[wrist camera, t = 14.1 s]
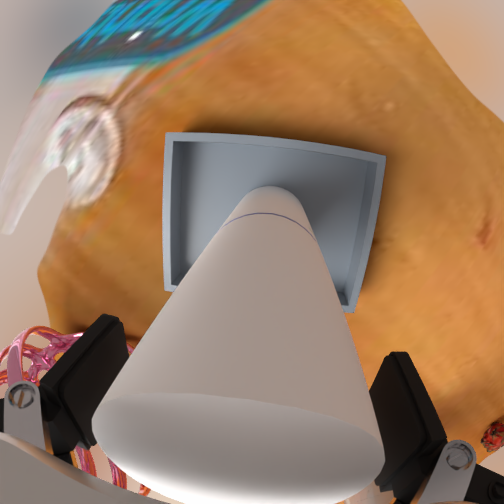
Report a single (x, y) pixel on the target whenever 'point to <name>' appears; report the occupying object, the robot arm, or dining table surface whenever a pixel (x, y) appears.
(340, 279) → the tray
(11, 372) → the spiral basket
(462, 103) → the dining table surface
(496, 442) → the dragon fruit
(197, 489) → the cylindrical container
